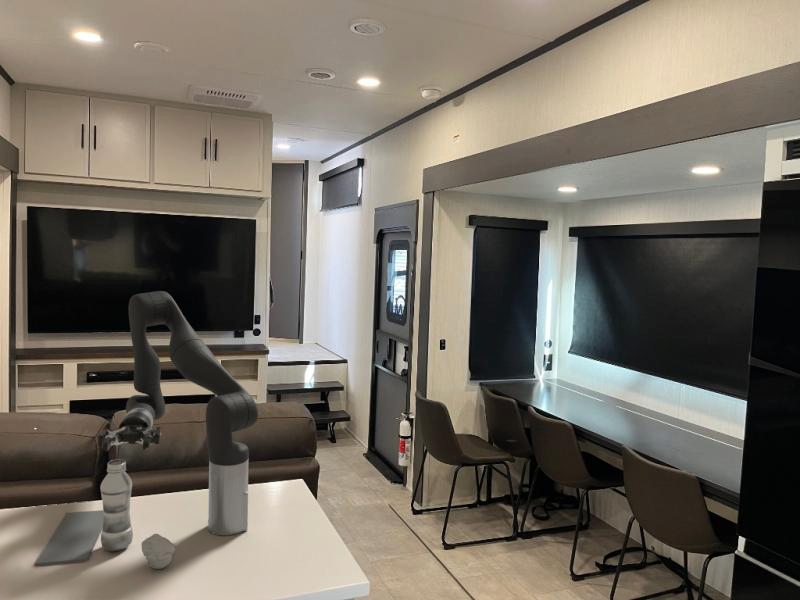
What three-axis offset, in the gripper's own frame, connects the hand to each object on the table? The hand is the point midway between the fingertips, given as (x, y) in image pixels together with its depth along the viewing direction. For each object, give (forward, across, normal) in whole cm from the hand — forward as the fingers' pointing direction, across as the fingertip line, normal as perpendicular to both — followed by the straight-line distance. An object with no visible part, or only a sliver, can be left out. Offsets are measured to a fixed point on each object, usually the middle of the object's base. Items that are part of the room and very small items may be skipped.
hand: (125, 446), depth 145 cm
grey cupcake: (+21, +10, +20) cm, 31 cm away
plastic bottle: (+11, 0, +20) cm, 23 cm away
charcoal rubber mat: (+4, -10, +20) cm, 22 cm away
